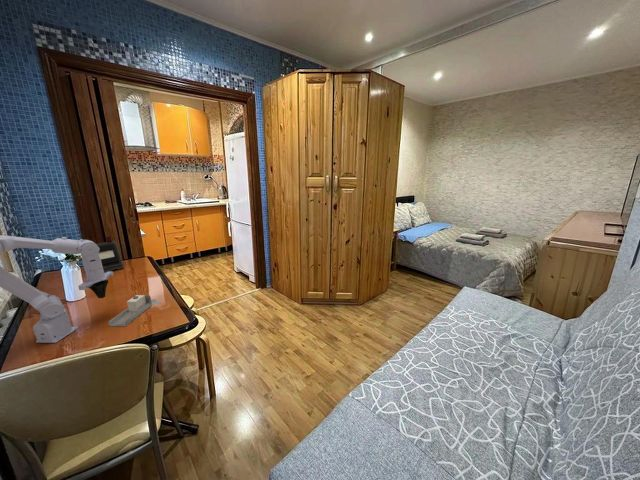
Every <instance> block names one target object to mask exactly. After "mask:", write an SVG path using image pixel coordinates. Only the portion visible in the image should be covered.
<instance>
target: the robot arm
mask: <svg viewBox="0 0 640 480" xmlns="http://www.w3.org/2000/svg"><path fill="white" fill-rule="evenodd" d="M89 240H90V239H81V238H80V239H79V240H78V239H71V238H67V237H66V236H61V238H60V237H58V238H57V237H56V238H55V239H53V240H48V239H38V238H31V237H23V236H22V237H21V236H12V235H2V234H1V235H0V254H1V253H2V252H3V250H5V253H7V252H10V251H13V250H16V249H19V248H20V249H36V250H37V249H41V250H50V251H52V252H53V253H55V254H66V255H80V256H81V259H82V260H81V263H82V267H83V268H84V273H85V276H86V280H84V281H83V282H82V283H81V284H80V285H79V284H78V287H77V288H78V290H79V291H86V290H87V289H90V290H91V291H92V292H93V293H94V294H95V296H96V297H97V298H98V299H104V298H105V297H106V291H107V287H108V286H107V285H108V283H109V280H108V278H110V277H113V276H114V272H113V270H109V271H105V272H104V270H103V266H102V263H101V259H100V257H99V253H98V252H99V250H100V248H99V247H98V245H97V244H98V243H95V242H94V241H92V240H90V241H89ZM0 288H1V289H3V290H4V291H6V292H8V293H10V294H12V295H14V296H16V297H17V298H19V299H21V300H22V301H25V302H27V304H30V306H31V307H33V309H35V310H36V311H38V312H39V313H40V314H39V315H40V316H39V320H38V321H37V322H36V323H35V324H33V326H32V330H33V333H34V335H35V338H36V341H35V342H36V343H45V344H46V343H48V344H53V343H54V344H56V343H57V342H59V341H61V340H62V339H64V338H65V337H67V336H68V335H70V334H71V333H73V332H75V331H76V330H77V329H79V326H72V323H71V321H70V318H69V314H68V311H67V308H65V306H64V304H63V303H62V301H61V298H60V296H57V295H52V294H49V293H47V292H45V291H41V289H37V287H34V286H33V285H31V284H30V283H28V282H26V281H25V280H23V279H21V278H20V277H18V276H16V275H15V274H13V273H11V272H9V271H8V270H6V269H5V268H3V267H2V266H0Z"/></svg>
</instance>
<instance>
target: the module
mask: <svg viewBox="0 0 640 480" xmlns="http://www.w3.org/2000/svg"><path fill="white" fill-rule="evenodd" d="M145 296H146V295H145V294H140V295H139V294H136V295H134V296H133V297H131V298H130V299H128V300H127V301H126V305H127V308H128V309H129V311H137V310H139V309H140V308H141V307H143V306H144V305H145V304H146V299H145Z"/></svg>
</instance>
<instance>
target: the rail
mask: <svg viewBox="0 0 640 480" xmlns="http://www.w3.org/2000/svg"><path fill="white" fill-rule="evenodd" d="M145 299H146V304H145V305H144V306H143V307H141V308H140V309H139V310H137V311H129V309H128V307H127V308H125V309H124V310H122V311H121V312H119V313H118V314H117V315H116V316H115V317H113V318H111V319H110V320H108V326H109V327H127V325H129V324H130V323H131V322H133V321H134V320H136V319H137V318H138V317H139V316H140V315H142V314H143V313H144V312H146V311H147V310H149V308H151V307H152V306H153V305H152V302H151V300H152V298H151V295H145Z"/></svg>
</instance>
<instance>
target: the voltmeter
mask: <svg viewBox="0 0 640 480" xmlns="http://www.w3.org/2000/svg"><path fill="white" fill-rule="evenodd" d="M105 238H106V242H105V241H104V242H100V243H96V244H97V245H98V247H99V248H100V250H99V252H98V253H99V257H100V259H101V263H102V266H103V270H104V273H106V272H108V271H113V270H116V269H117V271H119V270H122V268H124V263H123V261H122V260H123V259H122V257H121V253H120V251H119V249H118V245H117V243H116V241H115V240H113V239H112V237H111V236H106V237H105ZM88 240H89V241H91V239H88Z"/></svg>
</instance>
